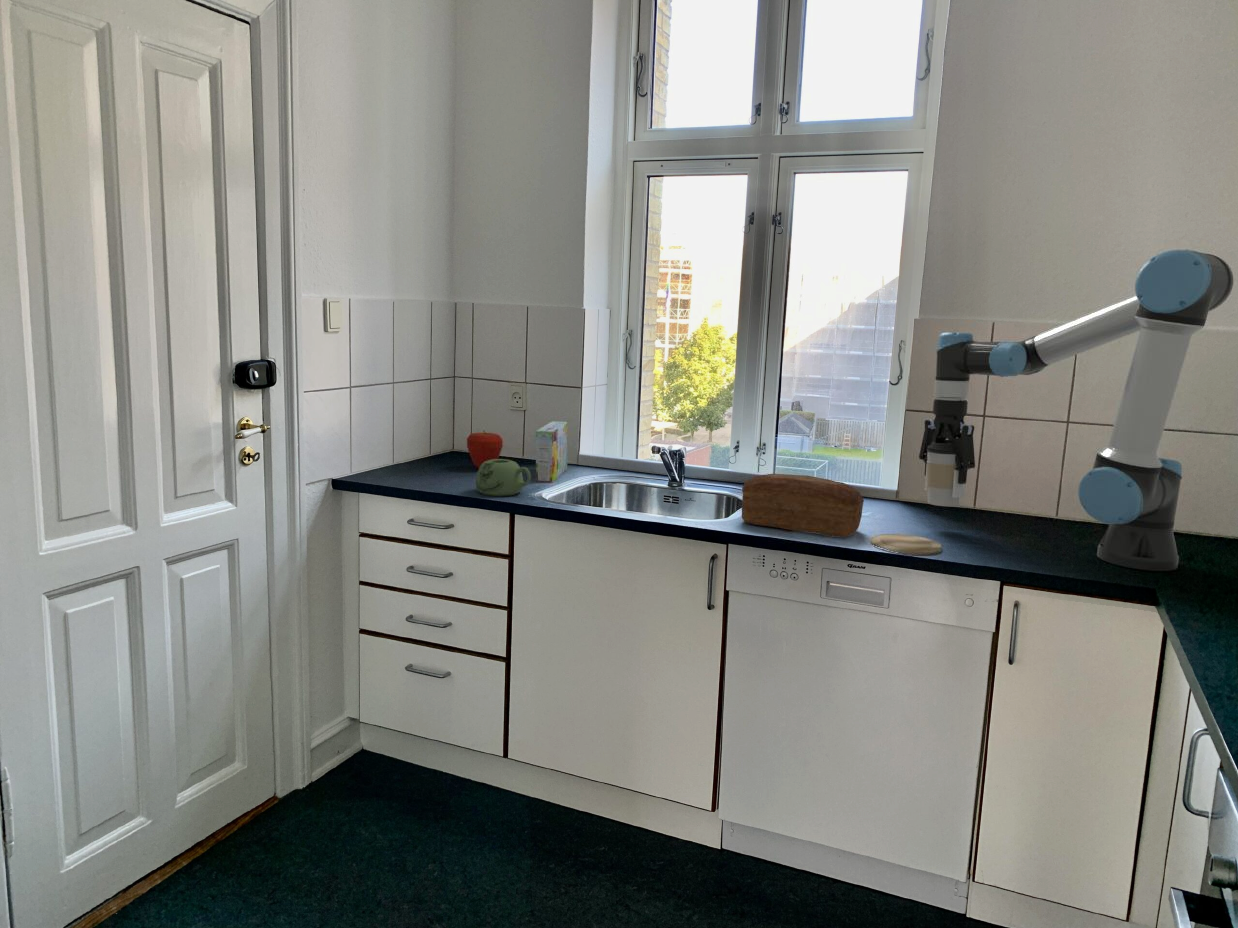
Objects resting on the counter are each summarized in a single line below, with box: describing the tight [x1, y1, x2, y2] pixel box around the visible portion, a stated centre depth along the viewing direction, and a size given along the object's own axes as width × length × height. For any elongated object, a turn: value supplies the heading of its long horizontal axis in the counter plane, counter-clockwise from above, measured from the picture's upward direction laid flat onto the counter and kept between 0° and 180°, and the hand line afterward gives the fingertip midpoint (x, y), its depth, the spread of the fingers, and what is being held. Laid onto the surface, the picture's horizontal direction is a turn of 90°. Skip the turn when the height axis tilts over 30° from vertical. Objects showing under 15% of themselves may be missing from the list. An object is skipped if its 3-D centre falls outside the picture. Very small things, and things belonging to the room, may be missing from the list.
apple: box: [466, 430, 504, 470], centre depth 269 cm, size 11×11×12 cm
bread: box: [741, 473, 865, 538], centre depth 209 cm, size 14×28×12 cm, turn 62°
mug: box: [475, 458, 532, 497], centre depth 236 cm, size 16×13×9 cm
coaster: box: [870, 533, 942, 556], centre depth 196 cm, size 15×15×1 cm
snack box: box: [535, 421, 568, 483], centre depth 262 cm, size 21×6×15 cm, turn 172°
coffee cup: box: [927, 439, 963, 507], centre depth 210 cm, size 9×9×15 cm
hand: (943, 493), depth 210 cm, fingers closed on coffee cup, 8 cm apart
